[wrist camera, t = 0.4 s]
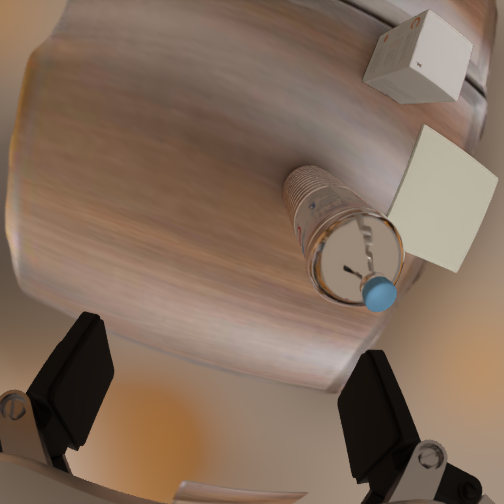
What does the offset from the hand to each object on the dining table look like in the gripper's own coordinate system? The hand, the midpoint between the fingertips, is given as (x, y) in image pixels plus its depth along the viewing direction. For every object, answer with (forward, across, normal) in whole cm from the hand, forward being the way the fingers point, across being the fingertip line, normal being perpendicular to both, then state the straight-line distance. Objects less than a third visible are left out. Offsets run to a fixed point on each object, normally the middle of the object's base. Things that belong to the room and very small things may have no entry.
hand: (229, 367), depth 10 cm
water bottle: (+30, -8, 0) cm, 31 cm away
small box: (+30, -16, -19) cm, 39 cm away
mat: (+30, -29, -3) cm, 42 cm away
